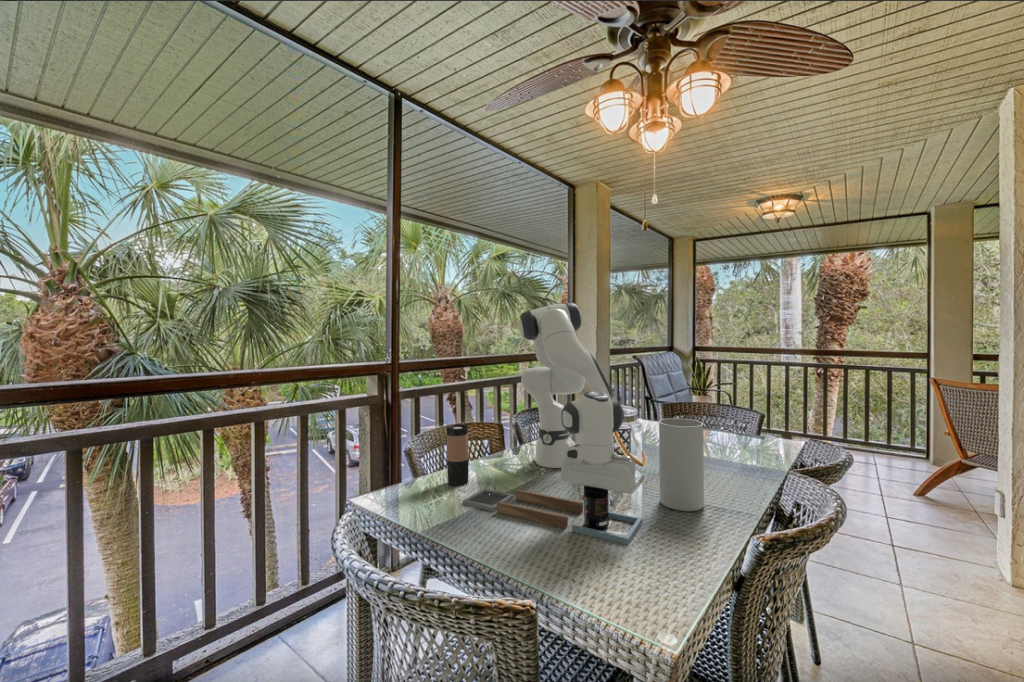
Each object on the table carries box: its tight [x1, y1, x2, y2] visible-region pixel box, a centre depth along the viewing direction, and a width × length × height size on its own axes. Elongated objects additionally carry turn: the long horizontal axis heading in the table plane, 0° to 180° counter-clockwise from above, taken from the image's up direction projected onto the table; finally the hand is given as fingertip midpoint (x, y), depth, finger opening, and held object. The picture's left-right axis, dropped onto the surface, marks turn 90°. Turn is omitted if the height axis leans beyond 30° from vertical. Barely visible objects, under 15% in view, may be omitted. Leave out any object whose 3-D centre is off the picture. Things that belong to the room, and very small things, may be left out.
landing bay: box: [571, 510, 644, 546], centre depth 117 cm, size 14×15×2 cm
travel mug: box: [446, 424, 470, 487], centre depth 154 cm, size 8×8×20 cm
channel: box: [496, 489, 584, 530], centre depth 128 cm, size 12×22×3 cm, turn 59°
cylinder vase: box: [658, 417, 705, 513], centre depth 132 cm, size 12×12×25 cm
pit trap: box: [462, 488, 515, 512], centre depth 137 cm, size 12×12×1 cm
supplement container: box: [583, 485, 610, 531], centre depth 119 cm, size 7×7×10 cm
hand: (597, 502), depth 118 cm, fingers open, 7 cm apart
